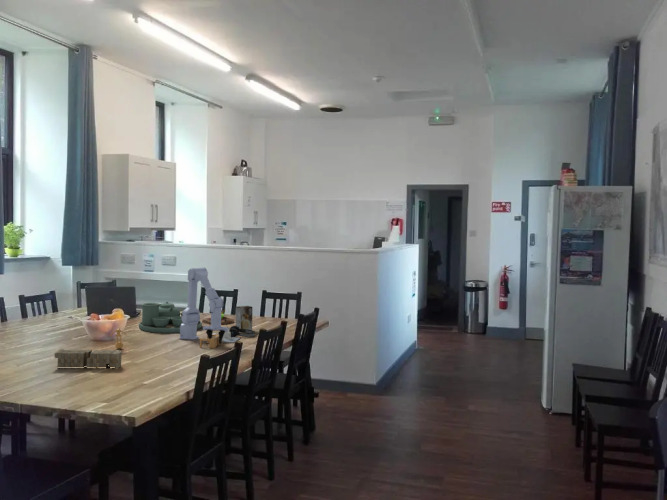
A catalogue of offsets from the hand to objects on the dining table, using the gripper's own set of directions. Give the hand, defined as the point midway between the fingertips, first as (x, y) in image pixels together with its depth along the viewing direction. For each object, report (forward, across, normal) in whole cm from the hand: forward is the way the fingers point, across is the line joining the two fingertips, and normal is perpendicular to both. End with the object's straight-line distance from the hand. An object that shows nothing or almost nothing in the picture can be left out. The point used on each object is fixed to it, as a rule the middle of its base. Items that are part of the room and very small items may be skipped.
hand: (215, 343), depth 331 cm
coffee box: (+2, +3, +48) cm, 48 cm away
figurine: (+2, -47, -22) cm, 52 cm away
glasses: (+1, -3, 0) cm, 3 cm away
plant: (+2, -23, +75) cm, 78 cm away
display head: (+1, -1, +16) cm, 16 cm away
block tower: (+2, -42, -60) cm, 73 cm away
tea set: (+2, -46, +47) cm, 66 cm away
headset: (+2, +5, +32) cm, 32 cm away
